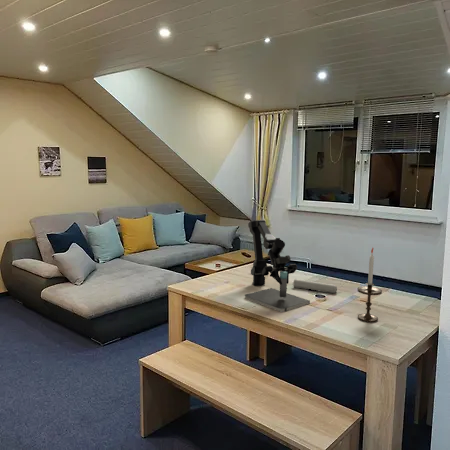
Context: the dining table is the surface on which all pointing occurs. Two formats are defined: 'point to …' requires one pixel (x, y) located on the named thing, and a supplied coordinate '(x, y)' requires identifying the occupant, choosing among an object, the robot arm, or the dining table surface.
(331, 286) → the tube
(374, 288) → the candlestick
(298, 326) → the dining table surface
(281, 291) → the ball
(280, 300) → the notebook
